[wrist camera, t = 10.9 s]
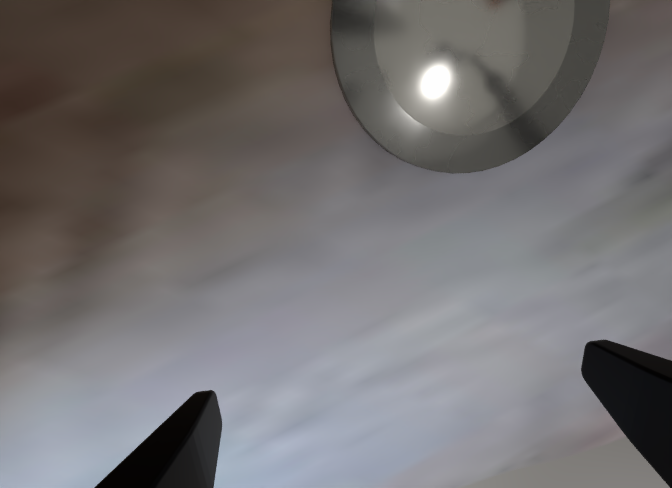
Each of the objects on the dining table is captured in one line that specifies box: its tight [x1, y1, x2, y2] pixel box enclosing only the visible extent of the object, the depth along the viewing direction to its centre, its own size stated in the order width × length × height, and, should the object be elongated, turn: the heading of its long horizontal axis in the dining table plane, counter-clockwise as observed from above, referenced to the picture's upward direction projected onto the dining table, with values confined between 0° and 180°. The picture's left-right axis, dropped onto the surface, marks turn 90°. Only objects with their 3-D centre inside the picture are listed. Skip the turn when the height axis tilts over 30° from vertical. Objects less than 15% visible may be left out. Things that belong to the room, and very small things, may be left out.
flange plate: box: [330, 0, 610, 173], centre depth 17 cm, size 14×14×1 cm
